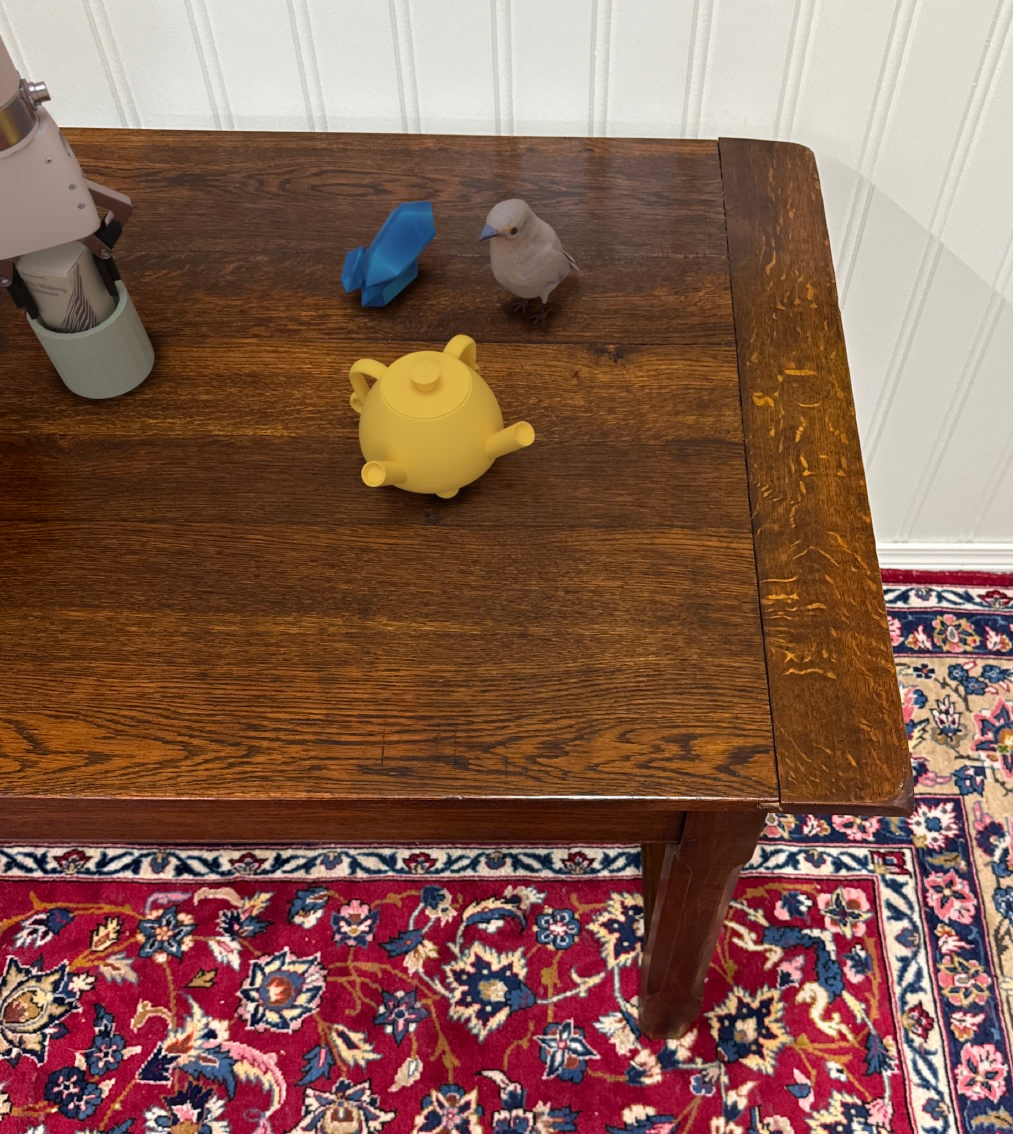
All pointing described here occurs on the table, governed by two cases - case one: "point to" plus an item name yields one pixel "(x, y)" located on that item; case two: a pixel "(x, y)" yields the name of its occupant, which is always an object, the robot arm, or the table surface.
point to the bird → (525, 253)
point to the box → (66, 287)
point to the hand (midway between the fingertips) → (72, 296)
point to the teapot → (430, 421)
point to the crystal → (390, 255)
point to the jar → (101, 352)
